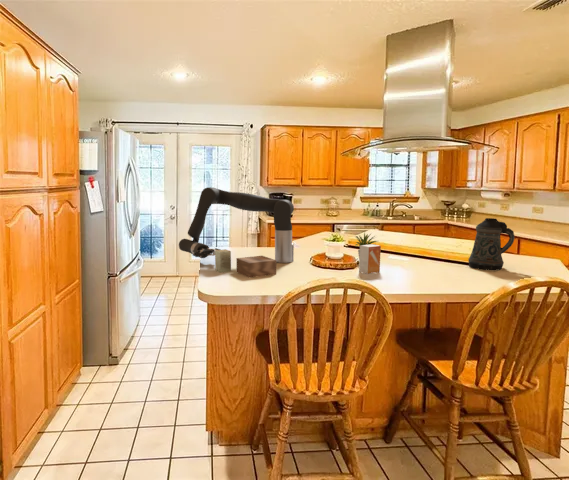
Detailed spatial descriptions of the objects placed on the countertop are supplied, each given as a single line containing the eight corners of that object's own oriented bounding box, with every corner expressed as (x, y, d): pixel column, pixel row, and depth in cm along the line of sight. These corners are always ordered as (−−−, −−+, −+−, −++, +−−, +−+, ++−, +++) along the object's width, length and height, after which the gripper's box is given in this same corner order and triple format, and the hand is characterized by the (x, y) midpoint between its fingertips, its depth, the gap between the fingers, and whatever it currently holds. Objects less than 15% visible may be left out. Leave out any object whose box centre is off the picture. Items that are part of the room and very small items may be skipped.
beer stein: (462, 264, 239) (465, 217, 235) (499, 264, 239) (502, 217, 235) (476, 270, 222) (479, 220, 219) (515, 270, 222) (519, 220, 219)
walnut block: (262, 269, 225) (262, 255, 224) (276, 274, 213) (276, 260, 212) (236, 272, 218) (236, 258, 217) (249, 278, 206) (249, 263, 205)
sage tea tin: (225, 269, 224) (225, 249, 223) (231, 271, 220) (230, 250, 218) (215, 270, 221) (215, 250, 220) (220, 272, 216) (220, 252, 215)
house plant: (361, 265, 234) (362, 234, 231) (344, 261, 246) (345, 231, 243) (382, 263, 241) (383, 232, 239) (365, 258, 253) (365, 229, 250)
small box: (367, 274, 214) (368, 247, 212) (358, 271, 219) (359, 245, 217) (380, 272, 218) (381, 245, 216) (370, 269, 223) (371, 243, 222)
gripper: (187, 244, 237) (199, 248, 224) (212, 242, 245) (225, 246, 232) (187, 258, 238) (199, 263, 225) (212, 255, 246) (225, 260, 233)
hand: (212, 254), depth 229 cm, fingers open, 8 cm apart
